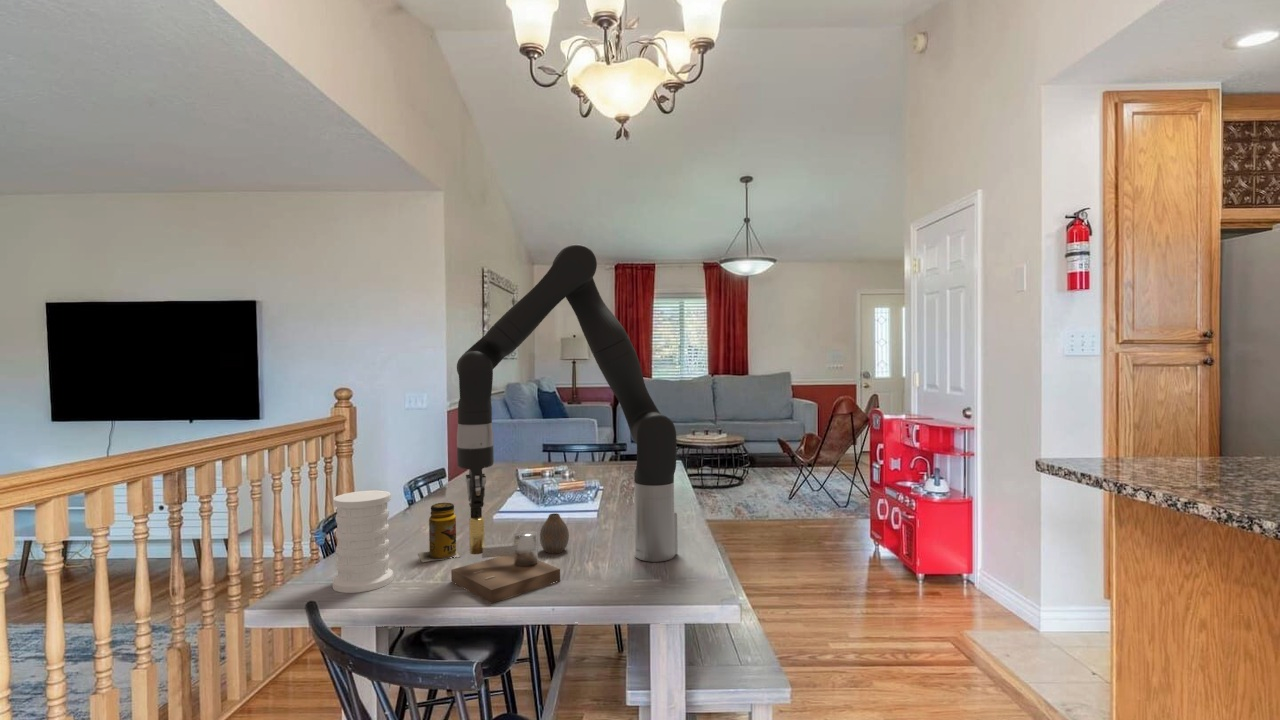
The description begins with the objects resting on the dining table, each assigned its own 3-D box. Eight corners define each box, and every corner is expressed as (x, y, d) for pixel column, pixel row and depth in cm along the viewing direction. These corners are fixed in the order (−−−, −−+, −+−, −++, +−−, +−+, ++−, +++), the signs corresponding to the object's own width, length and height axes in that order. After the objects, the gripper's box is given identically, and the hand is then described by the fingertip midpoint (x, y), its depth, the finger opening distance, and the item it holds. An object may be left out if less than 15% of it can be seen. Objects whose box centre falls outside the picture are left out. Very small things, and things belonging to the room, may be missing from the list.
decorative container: (359, 596, 118) (358, 504, 118) (319, 587, 123) (318, 499, 123) (405, 577, 129) (404, 492, 129) (366, 569, 134) (365, 488, 134)
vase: (563, 556, 141) (563, 518, 141) (535, 554, 143) (535, 517, 143) (572, 547, 148) (572, 511, 148) (546, 546, 149) (545, 510, 149)
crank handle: (536, 557, 132) (536, 511, 132) (538, 564, 127) (538, 517, 127) (470, 563, 129) (469, 516, 129) (469, 571, 124) (469, 522, 124)
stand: (517, 562, 137) (517, 551, 137) (560, 580, 125) (560, 567, 125) (451, 581, 126) (451, 568, 126) (491, 603, 114) (491, 588, 114)
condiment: (460, 557, 141) (459, 506, 141) (421, 563, 138) (421, 510, 138) (455, 548, 148) (454, 499, 148) (418, 554, 144) (417, 503, 144)
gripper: (496, 447, 125) (497, 531, 125) (490, 439, 137) (490, 515, 137) (458, 450, 122) (459, 535, 123) (455, 441, 135) (456, 518, 135)
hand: (476, 524), depth 130 cm, fingers closed
